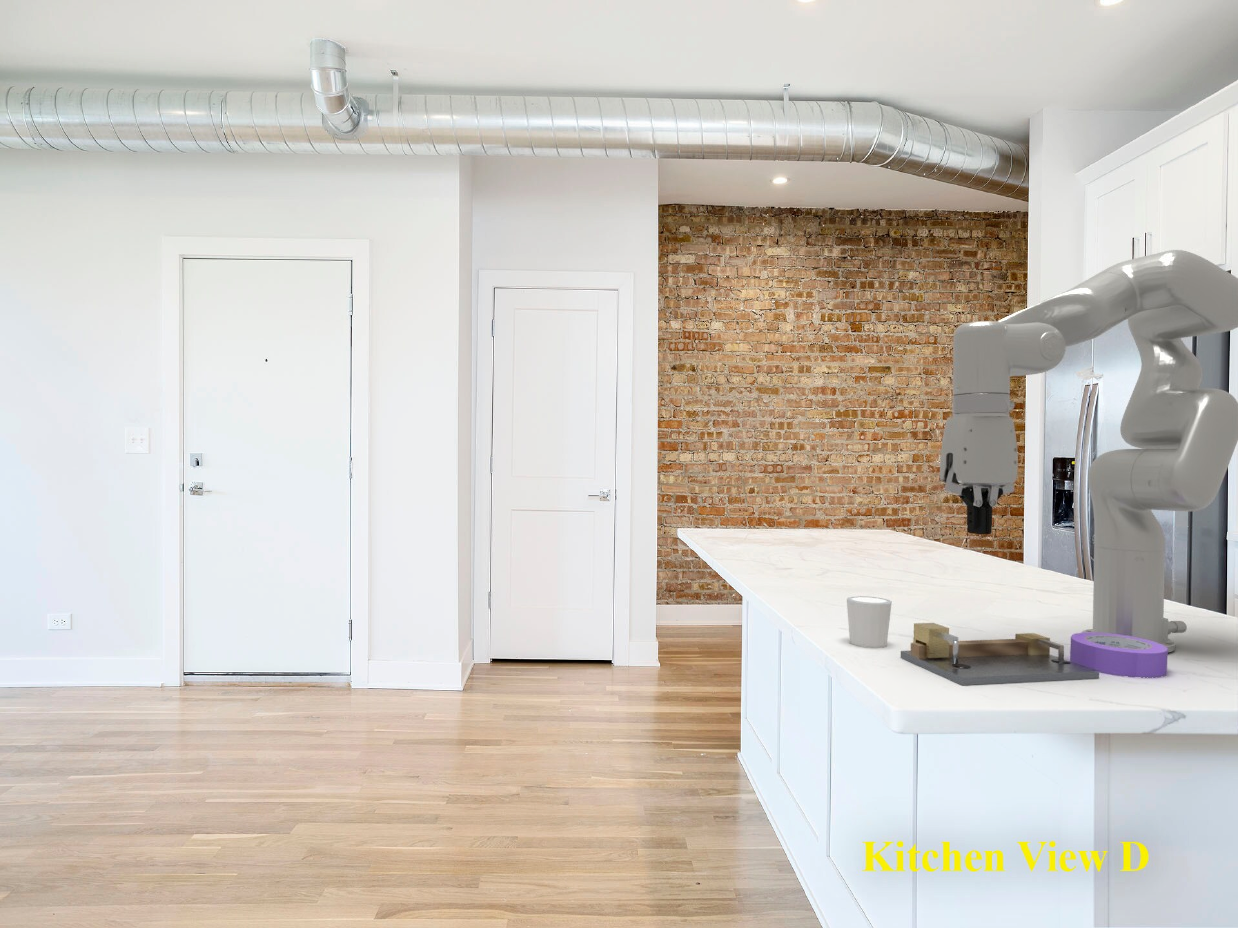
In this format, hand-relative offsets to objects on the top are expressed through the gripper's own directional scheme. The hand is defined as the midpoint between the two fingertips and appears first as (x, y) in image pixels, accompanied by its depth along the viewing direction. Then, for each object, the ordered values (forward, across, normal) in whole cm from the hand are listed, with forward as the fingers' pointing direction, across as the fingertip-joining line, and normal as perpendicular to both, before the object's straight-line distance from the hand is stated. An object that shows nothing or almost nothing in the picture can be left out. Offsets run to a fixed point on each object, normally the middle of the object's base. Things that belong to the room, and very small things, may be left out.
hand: (979, 533), depth 111 cm
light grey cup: (+19, +10, -12) cm, 25 cm away
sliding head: (+17, +8, +2) cm, 19 cm away
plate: (+19, 0, +4) cm, 19 cm away
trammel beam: (+18, 0, +2) cm, 18 cm away
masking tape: (+19, -19, +6) cm, 27 cm away
